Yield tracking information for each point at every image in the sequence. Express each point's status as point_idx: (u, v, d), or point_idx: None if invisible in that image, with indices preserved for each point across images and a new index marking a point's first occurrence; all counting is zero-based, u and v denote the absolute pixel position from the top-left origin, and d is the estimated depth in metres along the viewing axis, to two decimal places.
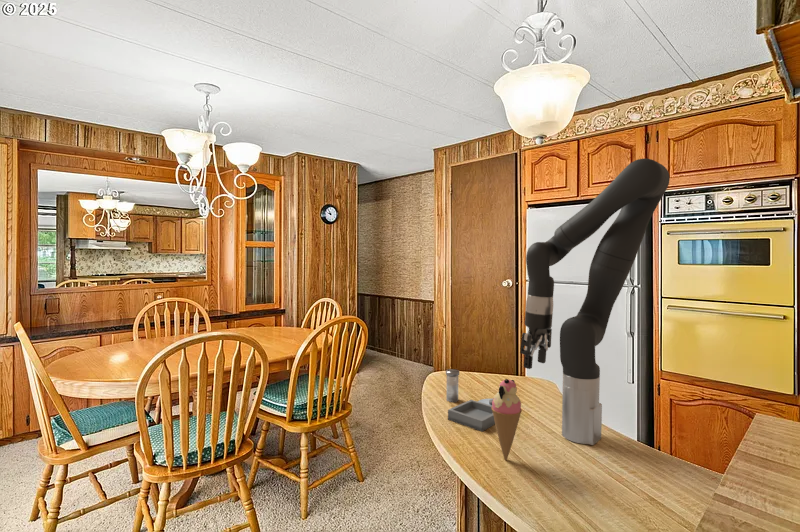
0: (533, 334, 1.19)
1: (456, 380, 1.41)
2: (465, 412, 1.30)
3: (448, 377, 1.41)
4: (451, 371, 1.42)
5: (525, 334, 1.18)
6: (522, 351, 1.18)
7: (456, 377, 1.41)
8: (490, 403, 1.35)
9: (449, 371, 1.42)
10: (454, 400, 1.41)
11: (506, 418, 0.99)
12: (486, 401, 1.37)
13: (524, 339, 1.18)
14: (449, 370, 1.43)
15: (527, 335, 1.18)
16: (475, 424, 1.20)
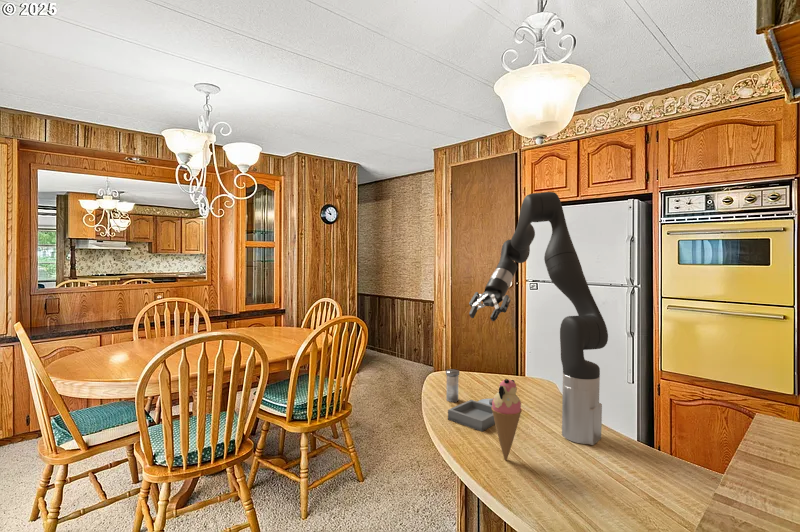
0: None
1: (456, 380, 1.41)
2: (465, 412, 1.30)
3: (448, 377, 1.41)
4: (451, 371, 1.42)
5: None
6: None
7: (456, 377, 1.41)
8: (490, 403, 1.35)
9: (449, 371, 1.42)
10: (454, 400, 1.41)
11: (506, 418, 0.99)
12: (486, 401, 1.37)
13: None
14: (449, 370, 1.43)
15: None
16: (475, 424, 1.20)
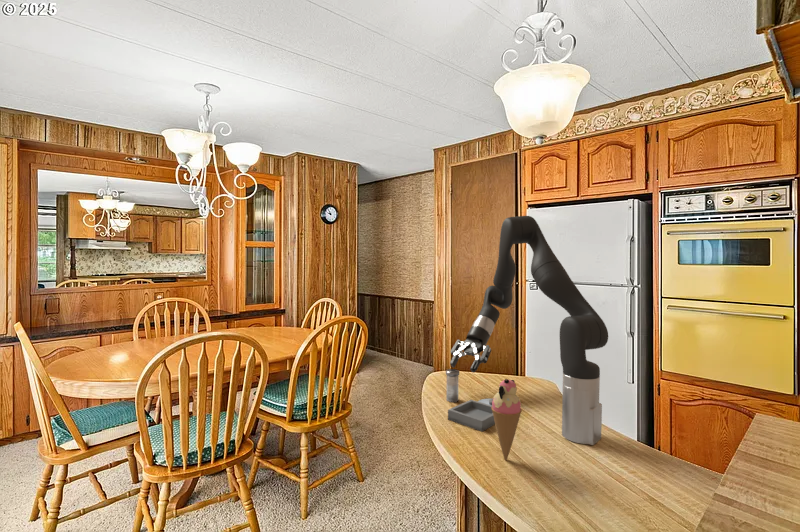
0: (463, 342, 1.53)
1: (456, 380, 1.41)
2: (465, 412, 1.30)
3: (448, 377, 1.41)
4: (451, 371, 1.42)
5: None
6: None
7: (456, 377, 1.41)
8: (490, 403, 1.35)
9: (449, 371, 1.42)
10: (454, 400, 1.41)
11: (506, 418, 0.99)
12: (486, 401, 1.37)
13: None
14: (449, 370, 1.43)
15: None
16: (475, 424, 1.20)
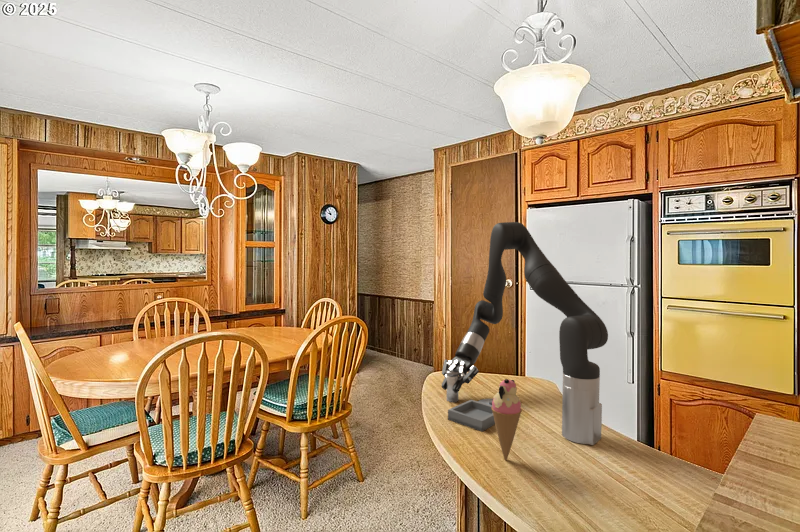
0: None
1: (456, 380, 1.41)
2: (465, 412, 1.30)
3: (448, 377, 1.41)
4: (451, 371, 1.42)
5: None
6: None
7: (456, 377, 1.41)
8: (490, 403, 1.35)
9: (449, 371, 1.42)
10: (454, 400, 1.41)
11: (506, 418, 0.99)
12: (486, 401, 1.37)
13: None
14: (449, 370, 1.43)
15: None
16: (475, 424, 1.20)
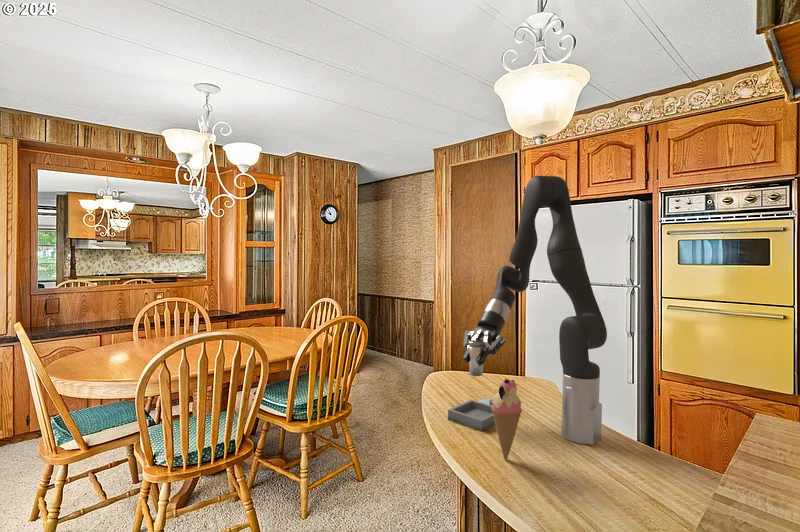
0: (474, 330, 1.32)
1: (480, 351, 1.25)
2: (465, 412, 1.30)
3: (471, 348, 1.25)
4: (474, 341, 1.26)
5: None
6: None
7: (480, 348, 1.25)
8: (490, 403, 1.35)
9: (472, 341, 1.26)
10: (478, 374, 1.25)
11: (506, 418, 0.99)
12: (486, 401, 1.37)
13: None
14: (472, 340, 1.27)
15: None
16: (475, 424, 1.20)
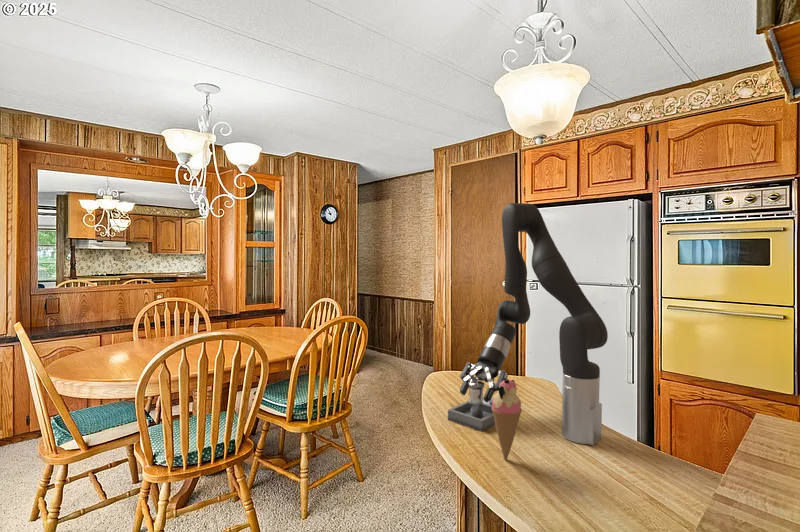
0: (475, 365, 1.33)
1: (480, 393, 1.25)
2: (465, 412, 1.30)
3: (471, 390, 1.25)
4: (475, 383, 1.26)
5: None
6: None
7: (480, 390, 1.25)
8: (490, 403, 1.35)
9: (472, 383, 1.26)
10: (478, 416, 1.25)
11: (506, 418, 0.99)
12: None
13: None
14: (472, 382, 1.27)
15: None
16: (475, 424, 1.20)
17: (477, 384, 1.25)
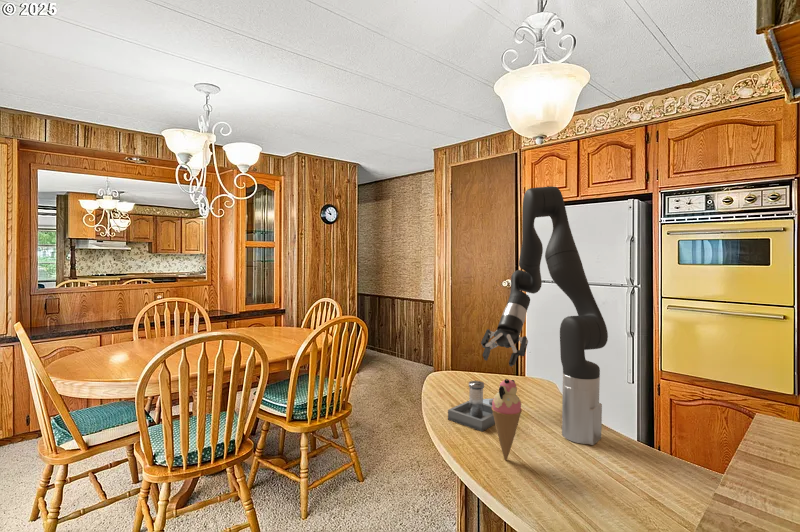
0: (494, 332, 1.40)
1: (481, 393, 1.25)
2: (465, 412, 1.30)
3: (471, 390, 1.25)
4: (475, 383, 1.26)
5: None
6: None
7: (481, 390, 1.25)
8: (490, 403, 1.35)
9: (473, 383, 1.26)
10: (478, 416, 1.25)
11: (506, 418, 0.99)
12: (486, 401, 1.37)
13: None
14: (472, 382, 1.27)
15: None
16: (475, 424, 1.20)
17: (477, 384, 1.25)
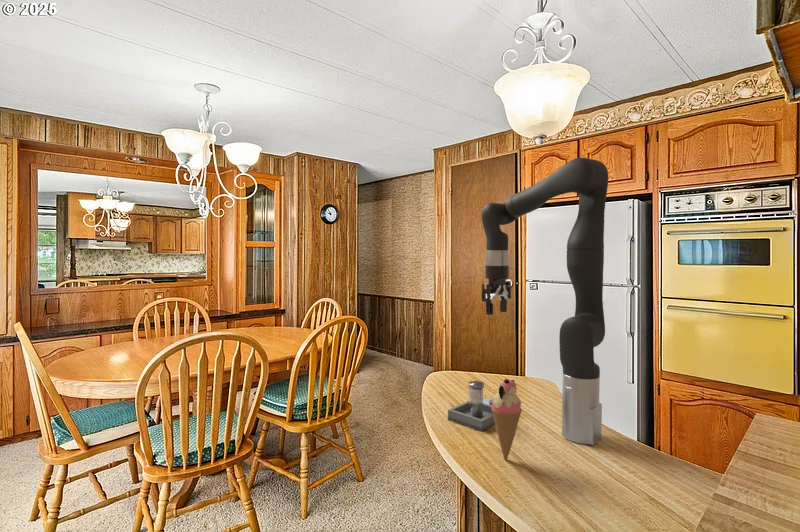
0: (492, 283, 1.35)
1: (480, 393, 1.25)
2: (465, 412, 1.30)
3: (471, 390, 1.25)
4: (475, 383, 1.26)
5: (485, 283, 1.34)
6: (483, 299, 1.34)
7: (481, 390, 1.25)
8: (490, 403, 1.35)
9: (472, 383, 1.26)
10: (478, 416, 1.25)
11: (506, 418, 0.99)
12: (486, 401, 1.37)
13: (484, 288, 1.34)
14: (472, 382, 1.27)
15: (486, 284, 1.34)
16: (475, 424, 1.20)
17: (477, 384, 1.25)
